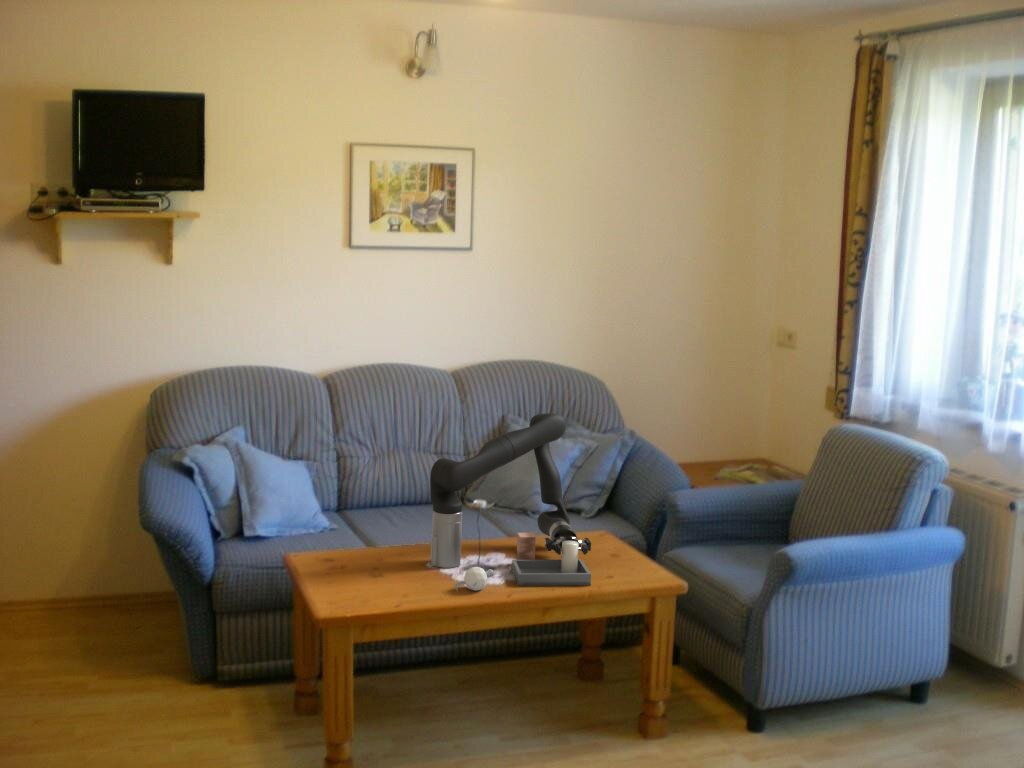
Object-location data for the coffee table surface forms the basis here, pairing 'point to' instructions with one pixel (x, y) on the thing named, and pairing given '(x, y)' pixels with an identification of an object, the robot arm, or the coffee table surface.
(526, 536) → the coral block
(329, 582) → the coffee table surface
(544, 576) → the tray
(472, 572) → the alien figurine
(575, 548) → the cream cylinder
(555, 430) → the robot arm
